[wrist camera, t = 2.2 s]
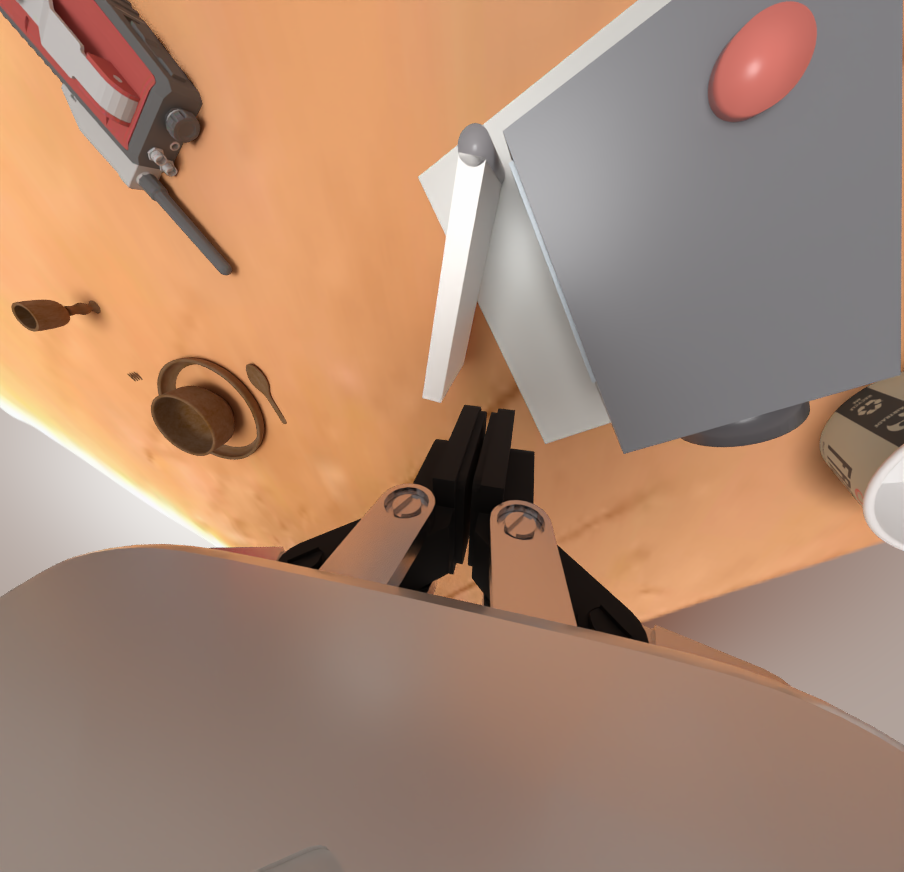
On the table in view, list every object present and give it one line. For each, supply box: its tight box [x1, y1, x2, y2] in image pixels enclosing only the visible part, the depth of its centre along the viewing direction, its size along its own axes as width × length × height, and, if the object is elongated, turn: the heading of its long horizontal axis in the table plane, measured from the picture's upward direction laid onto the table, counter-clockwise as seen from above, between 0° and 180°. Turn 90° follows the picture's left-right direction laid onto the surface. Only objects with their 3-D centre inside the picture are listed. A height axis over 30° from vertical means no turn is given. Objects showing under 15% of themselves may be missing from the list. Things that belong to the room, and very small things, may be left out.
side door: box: [422, 123, 505, 403], centre depth 20 cm, size 13×1×8 cm, turn 169°
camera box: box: [418, 0, 903, 454], centre depth 17 cm, size 22×20×10 cm
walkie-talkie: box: [0, 0, 232, 275], centre depth 22 cm, size 9×4×20 cm
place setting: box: [12, 300, 287, 460], centre depth 33 cm, size 18×20×6 cm
